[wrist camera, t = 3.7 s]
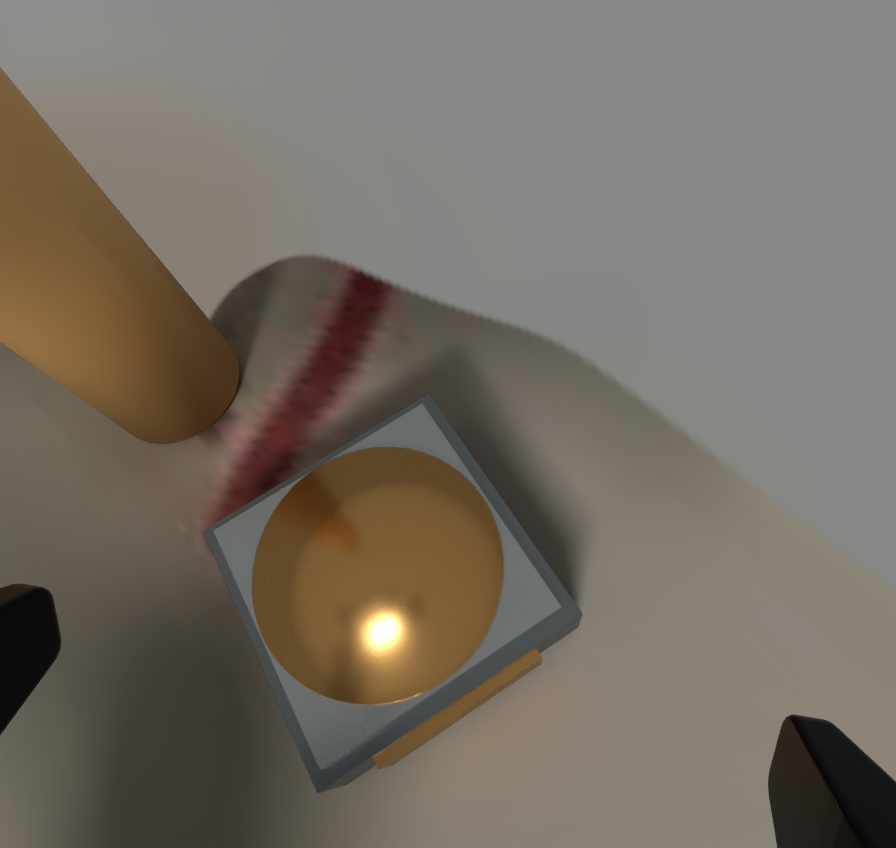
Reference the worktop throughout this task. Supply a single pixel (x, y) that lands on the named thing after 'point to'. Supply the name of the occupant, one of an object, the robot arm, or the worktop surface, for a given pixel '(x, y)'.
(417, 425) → the unit
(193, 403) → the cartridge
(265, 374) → the worktop surface
